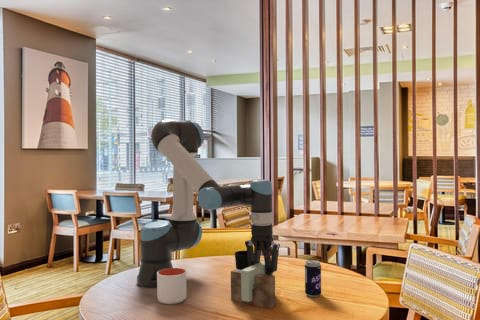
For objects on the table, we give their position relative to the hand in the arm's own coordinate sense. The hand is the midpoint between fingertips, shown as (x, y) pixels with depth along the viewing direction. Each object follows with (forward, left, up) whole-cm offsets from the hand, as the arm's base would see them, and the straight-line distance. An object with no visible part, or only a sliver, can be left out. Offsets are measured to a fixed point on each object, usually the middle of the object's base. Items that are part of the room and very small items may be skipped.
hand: (262, 290), depth 148 cm
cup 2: (-14, +10, -3) cm, 17 cm away
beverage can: (+14, +12, -3) cm, 18 cm away
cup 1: (-25, -19, -3) cm, 32 cm away
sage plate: (0, -3, -1) cm, 3 cm away
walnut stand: (0, -6, -2) cm, 7 cm away
